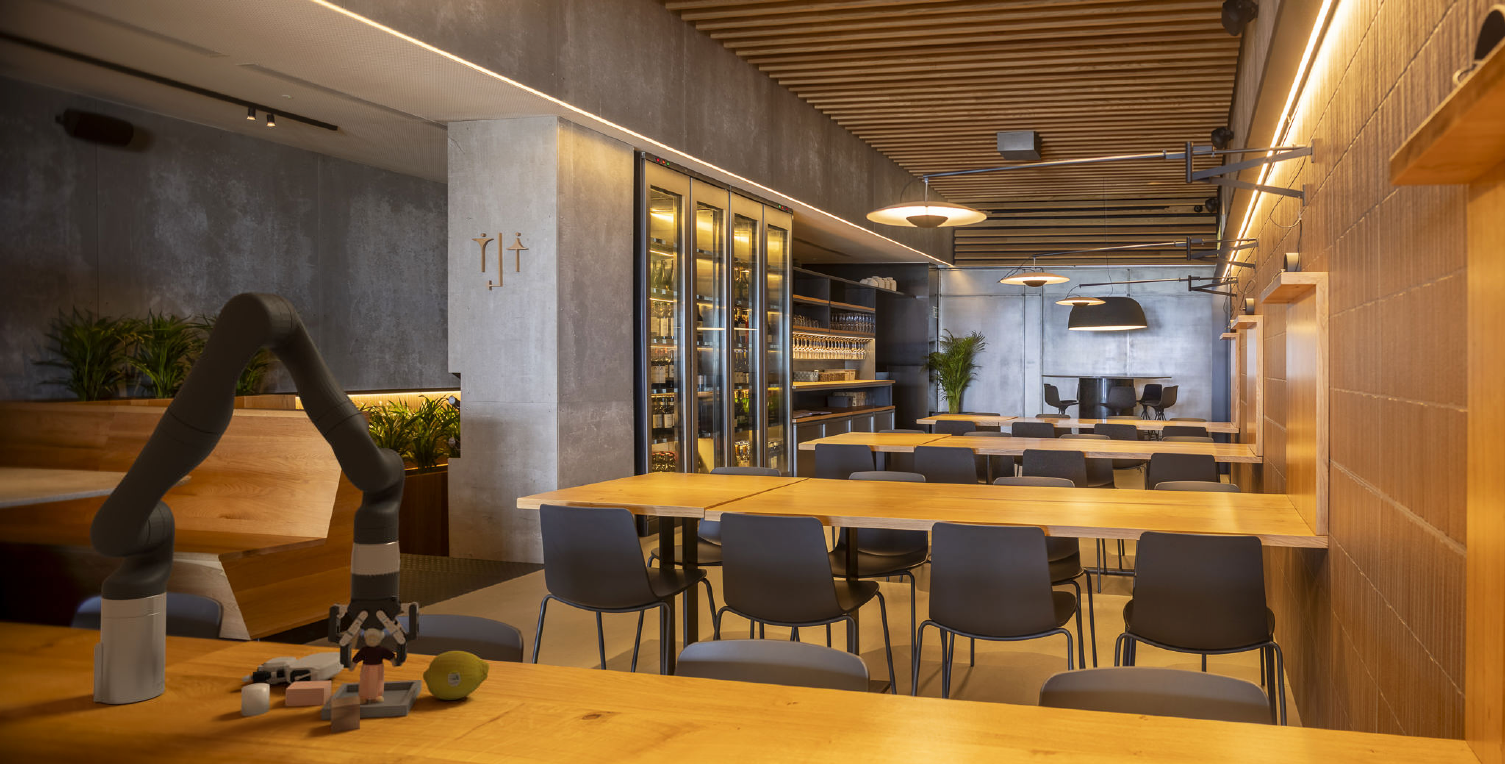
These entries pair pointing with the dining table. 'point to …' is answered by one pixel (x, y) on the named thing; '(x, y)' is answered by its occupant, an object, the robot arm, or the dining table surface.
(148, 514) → the robot arm
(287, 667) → the robot toy
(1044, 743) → the dining table surface
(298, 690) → the terracotta block
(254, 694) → the white rounded cylinder block
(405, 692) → the tray
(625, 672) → the dining table surface
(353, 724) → the walnut cube
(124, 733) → the dining table surface
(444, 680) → the lemon
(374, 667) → the grandmother figurine
